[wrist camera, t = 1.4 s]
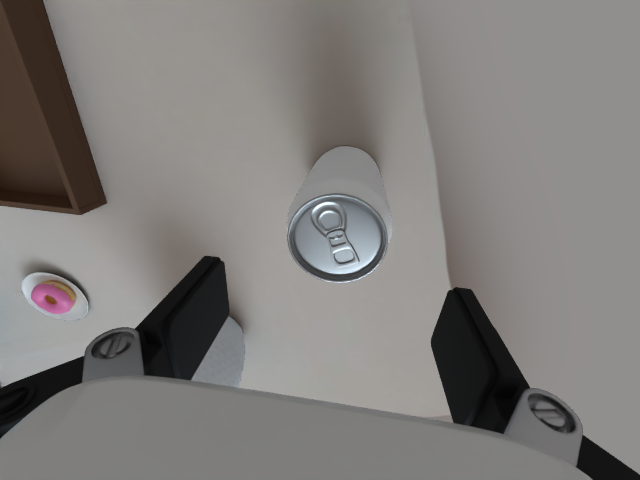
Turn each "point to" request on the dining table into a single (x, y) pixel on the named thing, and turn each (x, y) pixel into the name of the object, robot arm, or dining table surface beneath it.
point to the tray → (40, 120)
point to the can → (340, 217)
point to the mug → (224, 357)
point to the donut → (54, 296)
